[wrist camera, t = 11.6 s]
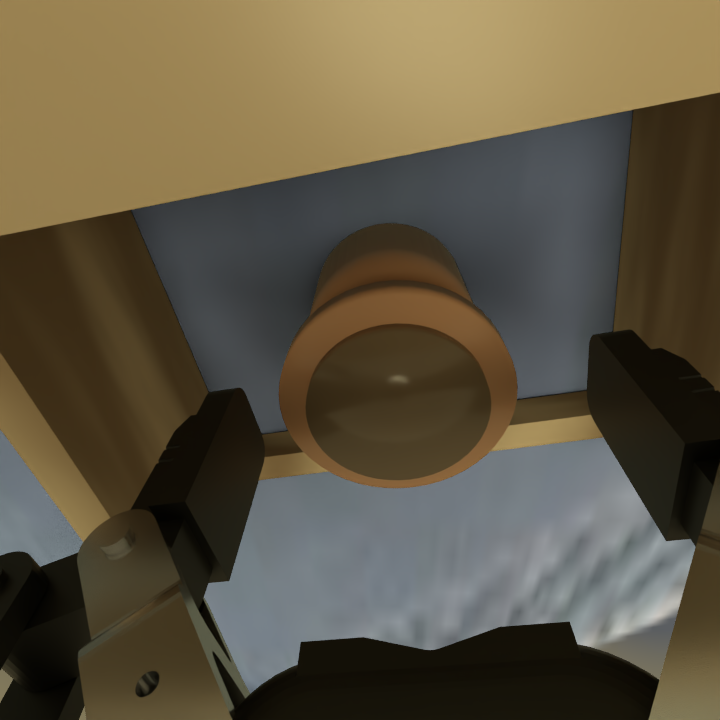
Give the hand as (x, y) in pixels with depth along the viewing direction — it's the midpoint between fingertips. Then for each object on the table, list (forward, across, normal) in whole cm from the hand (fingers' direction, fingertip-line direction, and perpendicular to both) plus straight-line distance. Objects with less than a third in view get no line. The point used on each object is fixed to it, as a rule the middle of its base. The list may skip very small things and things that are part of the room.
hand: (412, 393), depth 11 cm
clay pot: (+7, 0, 0) cm, 7 cm away
